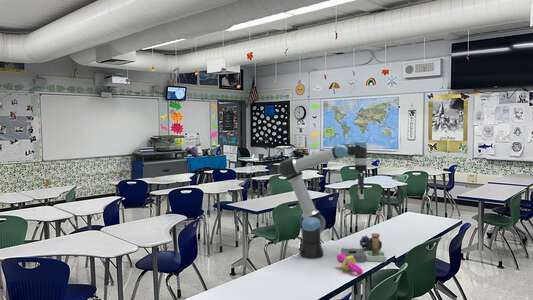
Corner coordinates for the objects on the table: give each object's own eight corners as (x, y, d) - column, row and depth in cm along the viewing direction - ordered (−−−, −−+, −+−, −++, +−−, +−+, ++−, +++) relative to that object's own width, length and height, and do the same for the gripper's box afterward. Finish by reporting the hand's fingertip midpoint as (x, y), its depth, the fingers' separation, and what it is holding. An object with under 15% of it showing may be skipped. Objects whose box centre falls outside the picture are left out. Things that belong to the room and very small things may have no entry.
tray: (366, 261, 255) (366, 256, 255) (365, 256, 265) (365, 251, 265) (386, 262, 253) (386, 256, 253) (384, 256, 263) (384, 251, 263)
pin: (379, 259, 256) (379, 235, 255) (371, 259, 257) (371, 235, 256) (379, 257, 261) (379, 233, 260) (371, 256, 262) (371, 233, 261)
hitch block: (341, 261, 255) (341, 255, 255) (341, 254, 269) (341, 248, 269) (364, 262, 253) (364, 256, 253) (363, 255, 267) (363, 249, 267)
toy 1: (351, 278, 230) (360, 262, 230) (329, 261, 243) (337, 246, 243) (360, 281, 237) (369, 265, 236) (338, 264, 250) (346, 249, 250)
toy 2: (365, 234, 284) (383, 239, 272) (365, 246, 285) (383, 251, 273) (357, 236, 279) (375, 241, 267) (357, 249, 280) (375, 254, 268)
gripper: (368, 166, 255) (368, 200, 257) (365, 162, 280) (365, 193, 281) (355, 166, 256) (355, 200, 258) (353, 162, 281) (354, 193, 282)
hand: (360, 197), depth 269 cm, fingers open, 13 cm apart
